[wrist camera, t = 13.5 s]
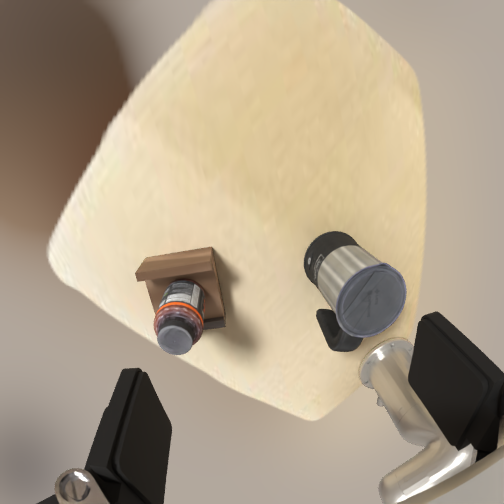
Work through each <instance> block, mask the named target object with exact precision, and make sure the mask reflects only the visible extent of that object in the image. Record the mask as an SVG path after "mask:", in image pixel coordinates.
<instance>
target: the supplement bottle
mask: <svg viewBox="0 0 504 504" xmlns="http://www.w3.org/2000/svg"><path fill="white" fill-rule="evenodd" d="M205 304H206V298H205V293H204V291H203V289H202V287H201V286H200V285H199V284H198V283H196V282H195V281H193V280H190V279H177V280H175V281H173V282H172V283H170V284H169V285H168V287H167V288H166V290H165V292H164V295H163V297H162V300H161V302H160V305H159V307H158V310H157V313H156V316H155V319H154V330H155V333H156V335H157V340H158V344H159V345H160V347H161V348H162V349H163V350H164V351H165V352H167V353H169V354H173V355H181V354H185V353H187V352H188V351H189V350H190V349H191V347H192V345H194V344H195V343H196V342H198V340H199V339H200V337H201V335H202V332H203V323H204V312H205Z"/></svg>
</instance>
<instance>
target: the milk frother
mask: <svg viewBox="0 0 504 504" xmlns="http://www.w3.org/2000/svg"><path fill="white" fill-rule="evenodd" d="M304 269H305V272H306V275H307V277H308V278H309V280H310V281H311V282H312V283H314V284H315V285H316V287H317V288H318V289H319V290H320V292H321V293H322V295H323V297H324V298H325V300H326V301H327V302H328V304H329V305H330V307H331V308H332V310H333V311H332V310H329V309H319V310H317V314H316V317H317V320H318V323H319V325H320V327H321V330H322V332H323V334H324V337H325V339H326V341H327V344H328V346H329V348H330V349H332V350H333V351H338V352H349V351H353V350H355V349H356V348H357V347H358V346H359V345H360V344H361V342H362V340H363V338H364V337H370V336H374V335H377V334H379V333H381V332H383V331H384V330H385V329H387V328H388V327H389V326H391V325H392V324H393V323H394V322H395V320H396V319H397V318H398V316H399V315H400V313H401V311H402V309H403V307H404V304H405V300H406V285H405V281H404V279H403V277H402V275H401V274H400V273H399V272H398V271H397V270H396V269H394V268H393V267H391V266H390V265H388V264H387V263H382V262H381V261H379V260H378V259H377V258H375V257H374V256H373V255H371V254H370V253H369V252H367V251H366V250H365V249H363V248H362V247H361V246H359V245H358V244H357V243H356V241H355V240H354V239H353V238H352V237H351V236H349V235H348V234H346V233H343V232H338V231H332V232H327V233H324V234H322V235H320V236H319V237H317V238H316V239H315V240H314V241H313V242H312V243H311V244H310V246H309V247H308V249H307V251H306V254H305V258H304Z"/></svg>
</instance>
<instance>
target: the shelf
mask: <svg viewBox="0 0 504 504" xmlns="http://www.w3.org/2000/svg"><path fill="white" fill-rule="evenodd" d="M135 275H136V278H137V282H138V281H145V282H146V285H147V289H148V292H149V296H150V299H151V302H152V305H153V309H154V312H155V315H156V313H157V310H158V307H159V305H160V302H161V300H162V297H163V295H164V292H165V290H166V288H167V287H168V285H169V284H170V283H172V282H173V281H175V280H177V279H190V280H193V281H195V282H196V283H198V284H199V285H200V286H201V287H202V289H203V291H204V293H205V298H206V304H205V312H204V323H203V330H207V329H214V328H221V327H225V310H224V305H223V300H222V296H221V291H220V286H219V281H218V276H217V271H216V266H215V261H214V255H213V250H212V247H207V248H201V249H195V250H189V251H183V252H177V253H171V254H165V255H159V256H153V257H147V258H145V260H144V261H143V263H142V264H141V265H140V267H139V268H138V270H137V271H136V273H135Z"/></svg>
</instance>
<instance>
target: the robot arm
mask: <svg viewBox="0 0 504 504" xmlns="http://www.w3.org/2000/svg"><path fill="white" fill-rule="evenodd" d="M359 377H360V380H361V382H362V384H363V385H364V386H366V387H368V388H371V389H375V391H376V392H377V394H378V400H377V405H378V406H385V408H386V410H387V412H388V414H389V415H390V417H391V419H392V421H393V423H394V424H395V426H396V428H397V429H398V431H399V433H400V435H401V436H402V437H403V439H404V440H406V441H407V442H409V443H411V444H414V445H418V446H424V447H425V448H424V449H423V450H422V451H420V452H419V453H418V454H417V455H415V456H414V457H413V458H411V459H409V460H408V461H406V462H405V463H403V464H402V465H400V466H399V467H397V468H396V469H394V470H392V471H391V472H390V473H388V474H387V475H385V476H384V477H383V478H382V479H381V481H380V483H379V488H378V489H379V495H380V498H381V500H382V503H383V504H504V373H503V372H502V371H501V370H500V369H499V368H498V367H497V366H496V365H495V364H494V363H493V362H492V361H491V360H490V359H489V358H488V357H487V356H486V355H485V354H484V353H483V352H482V351H481V350H480V349H479V348H478V347H477V346H476V345H474V344H473V343H472V342H471V341H470V340H469V339H468V338H467V337H466V336H465V335H463V333H462V332H460V331H459V330H458V329H457V328H456V327H455V326H454V325H453V324H451V323H450V322H449V321H448V320H447V319H446V318H445V317H444V316H443V315H441V314H440V313H439V312H433V313H430V314H427V315H424V316H423V317H422V318H421V321H419V323H418V327H417V333H416V339H415V344H414V347H413V345H412V344H411V343H410V342H409V341H408V340H406V339H404V338H393V339H389V340H387V341H384V342H382V343H381V344H379V345H377V346H376V347H375V348H373V349H372V350H371V351H370V352H369V353H368V354H367V356H366V357H365V358H364V360H363V361H362V363H361V366H360V369H359ZM171 434H172V426H171V422H170V420H169V418H168V416H167V414H166V412H165V410H164V409H163V406H162V404H161V402H160V400H159V398H158V396H157V394H156V392H155V390H154V387H153V385H152V383H151V381H150V378H149V376H148V374H147V373H146V372H142V370H141V369H140V368H129V369H123V370H122V372H121V374H120V377H119V379H118V382H117V384H116V387H115V390H114V392H113V395H112V398H111V400H110V403H109V406H108V407H107V408H106V409H105V411H104V413H103V416H102V418H101V421H100V424H99V427H98V430H97V432H96V436H95V438H94V441H93V445H92V447H91V450H90V453H89V456H88V459H87V462H86V466H85V469H80V468H72V469H69V470H66V471H65V472H63V473H62V474H61V475H60V476H59V477H58V478H57V480H56V482H55V488H54V490H55V495H52V496H51V497H49V498H47V499H45V500H43V501H41V502H39V503H37V504H163V503H164V494H165V484H166V474H167V466H168V457H169V450H170V441H171Z"/></svg>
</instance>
